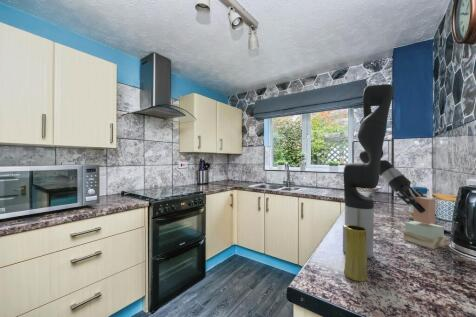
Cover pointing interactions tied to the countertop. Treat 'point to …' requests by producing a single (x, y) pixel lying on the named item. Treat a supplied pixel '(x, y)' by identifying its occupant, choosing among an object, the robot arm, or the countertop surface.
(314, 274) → the countertop surface
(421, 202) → the square block
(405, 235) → the tower base
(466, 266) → the countertop surface
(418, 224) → the tower top
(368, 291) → the countertop surface
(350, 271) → the vase
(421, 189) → the beverage bottle
